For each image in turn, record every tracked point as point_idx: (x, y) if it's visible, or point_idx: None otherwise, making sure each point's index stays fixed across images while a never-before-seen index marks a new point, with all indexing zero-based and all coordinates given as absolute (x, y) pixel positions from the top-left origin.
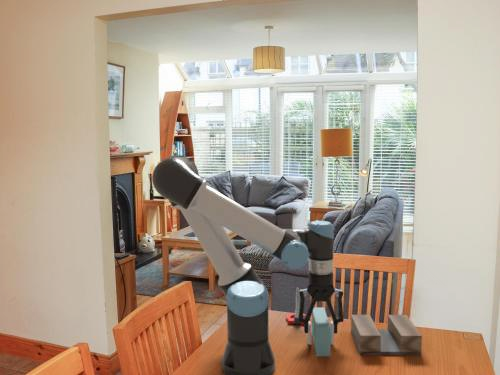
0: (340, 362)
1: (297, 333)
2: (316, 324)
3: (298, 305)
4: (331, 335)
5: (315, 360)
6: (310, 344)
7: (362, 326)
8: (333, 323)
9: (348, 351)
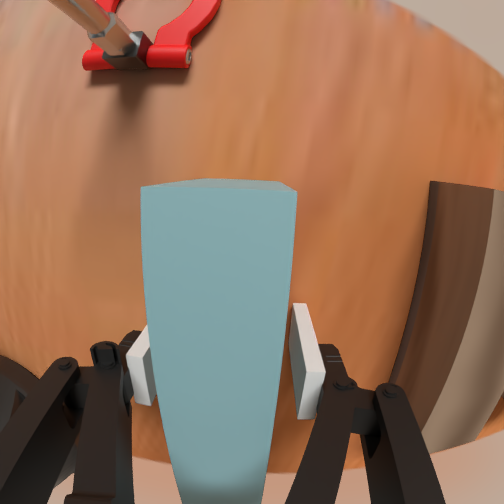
0: (289, 445)
1: (124, 182)
2: (181, 492)
3: (87, 15)
4: (292, 371)
5: None
6: None
7: (471, 376)
8: (316, 406)
9: None
